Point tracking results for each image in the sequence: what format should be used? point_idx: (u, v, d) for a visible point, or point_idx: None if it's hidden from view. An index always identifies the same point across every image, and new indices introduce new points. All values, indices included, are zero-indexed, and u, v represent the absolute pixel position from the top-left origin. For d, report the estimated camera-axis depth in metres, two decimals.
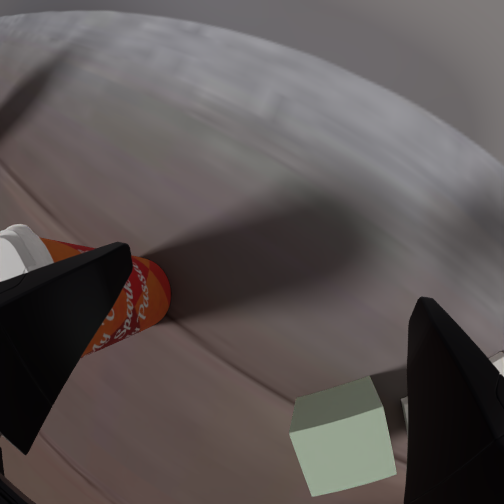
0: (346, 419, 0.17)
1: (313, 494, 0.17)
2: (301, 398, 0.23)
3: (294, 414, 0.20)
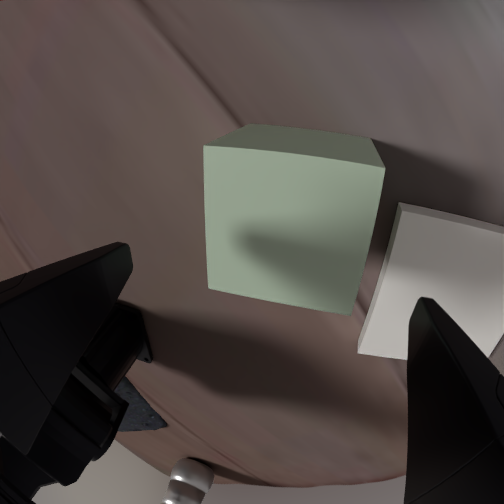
0: (311, 158, 0.10)
1: (211, 285, 0.13)
2: (257, 125, 0.15)
3: (232, 133, 0.13)
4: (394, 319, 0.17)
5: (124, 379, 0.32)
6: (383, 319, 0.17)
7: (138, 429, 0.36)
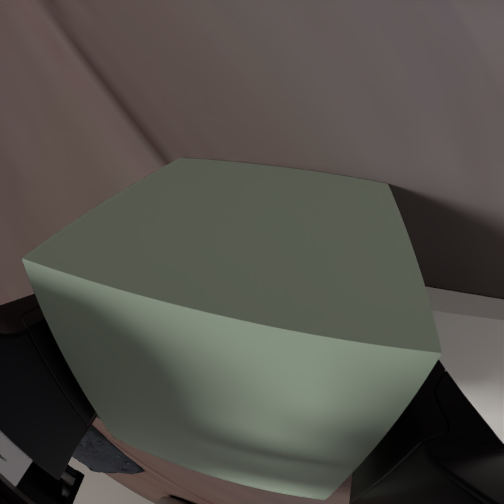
0: (231, 324, 0.03)
1: (115, 435, 0.07)
2: (186, 162, 0.09)
3: (118, 195, 0.06)
4: None
5: (93, 429, 0.26)
6: None
7: (115, 472, 0.30)
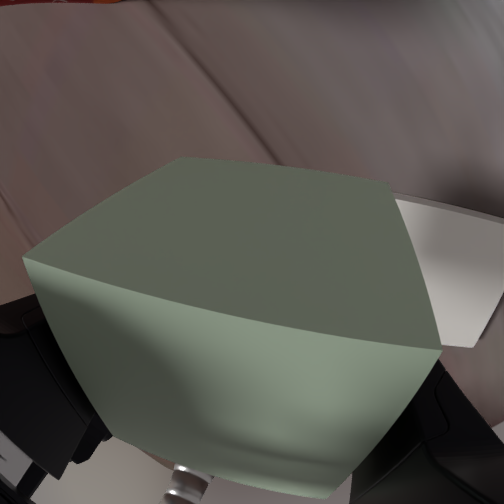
0: (232, 322, 0.03)
1: (115, 434, 0.07)
2: (187, 161, 0.09)
3: (118, 194, 0.06)
4: None
5: None
6: None
7: None
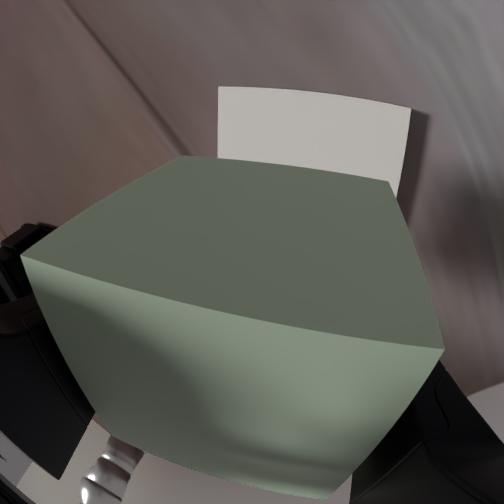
0: (231, 319, 0.03)
1: (114, 434, 0.07)
2: (186, 160, 0.09)
3: (117, 192, 0.06)
4: None
5: None
6: None
7: None
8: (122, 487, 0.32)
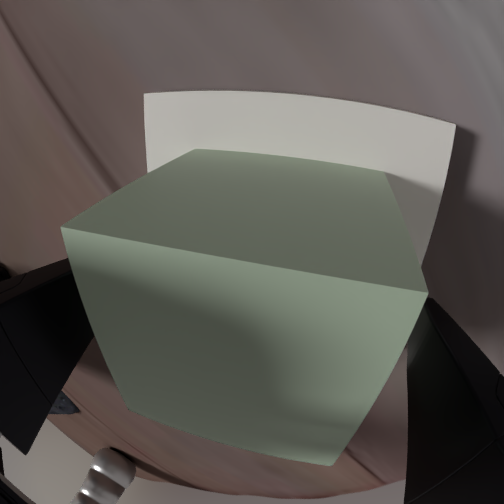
0: (255, 269, 0.04)
1: (131, 407, 0.08)
2: (201, 152, 0.09)
3: (143, 178, 0.07)
4: None
5: None
6: None
7: (55, 412, 0.31)
8: None
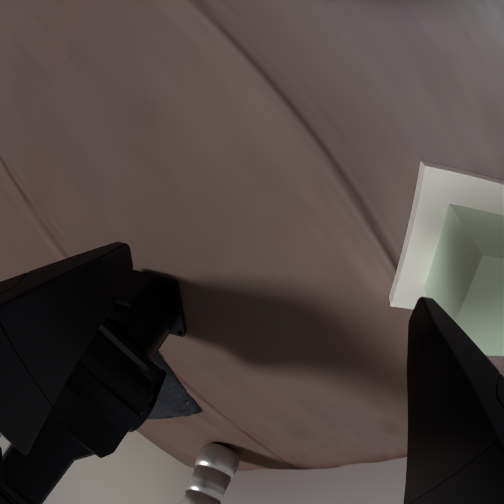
0: None
1: None
2: (457, 207, 0.15)
3: (467, 227, 0.13)
4: (422, 269, 0.18)
5: (163, 363, 0.34)
6: (412, 269, 0.19)
7: (170, 416, 0.37)
8: None
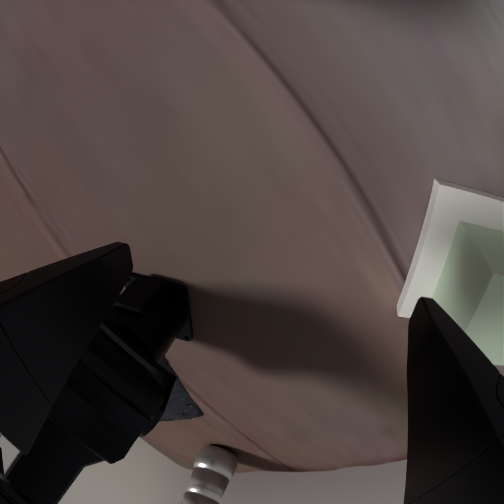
0: None
1: None
2: (467, 225, 0.16)
3: (477, 245, 0.14)
4: (431, 282, 0.19)
5: (169, 368, 0.34)
6: (421, 281, 0.19)
7: (171, 419, 0.37)
8: None
